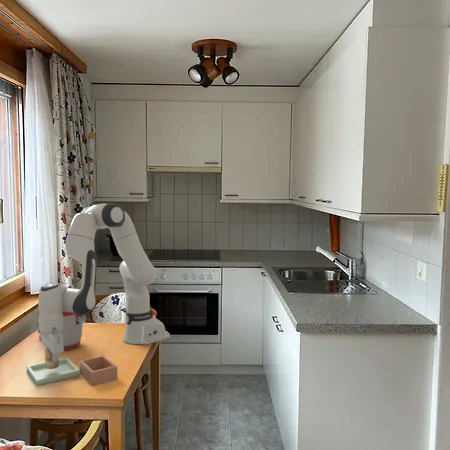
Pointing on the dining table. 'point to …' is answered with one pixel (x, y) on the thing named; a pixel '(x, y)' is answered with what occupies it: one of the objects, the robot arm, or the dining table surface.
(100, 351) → the dining table surface
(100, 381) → the open square frame
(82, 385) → the dining table surface
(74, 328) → the citrus juicer
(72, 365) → the tray
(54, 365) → the beech cylinder
